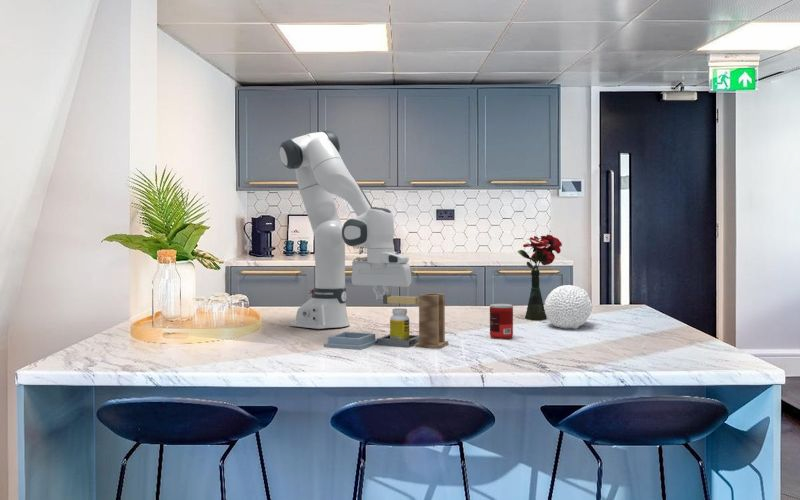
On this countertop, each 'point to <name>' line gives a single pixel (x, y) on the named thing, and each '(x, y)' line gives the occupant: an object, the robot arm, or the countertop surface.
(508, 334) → the canned food
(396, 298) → the bar
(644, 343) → the countertop surface
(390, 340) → the socket
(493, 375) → the countertop surface
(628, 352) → the countertop surface
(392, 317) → the pill bottle
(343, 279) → the robot arm
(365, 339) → the tray
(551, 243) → the carnation
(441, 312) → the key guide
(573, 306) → the white textured ball
